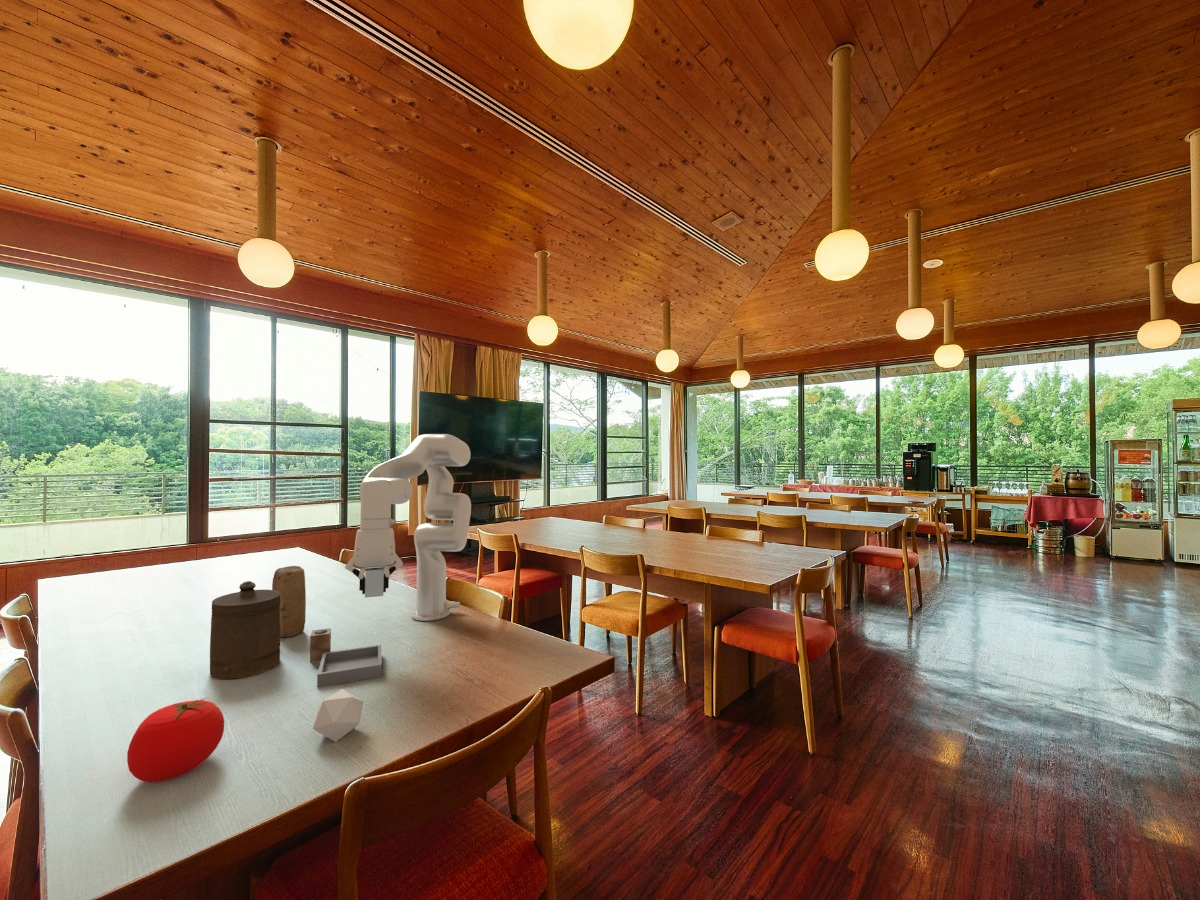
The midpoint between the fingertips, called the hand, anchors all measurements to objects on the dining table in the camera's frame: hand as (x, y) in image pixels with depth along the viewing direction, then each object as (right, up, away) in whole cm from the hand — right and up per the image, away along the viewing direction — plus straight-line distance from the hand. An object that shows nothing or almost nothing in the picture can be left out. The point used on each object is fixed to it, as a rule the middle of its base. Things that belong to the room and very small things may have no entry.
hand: (374, 591), depth 135 cm
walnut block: (-15, -18, 0) cm, 23 cm away
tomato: (-13, -18, -48) cm, 52 cm away
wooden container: (-30, -18, -6) cm, 36 cm away
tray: (-2, -18, -8) cm, 20 cm away
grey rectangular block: (0, -1, 0) cm, 1 cm away
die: (+10, -18, -36) cm, 42 cm away
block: (-35, -18, +18) cm, 43 cm away
